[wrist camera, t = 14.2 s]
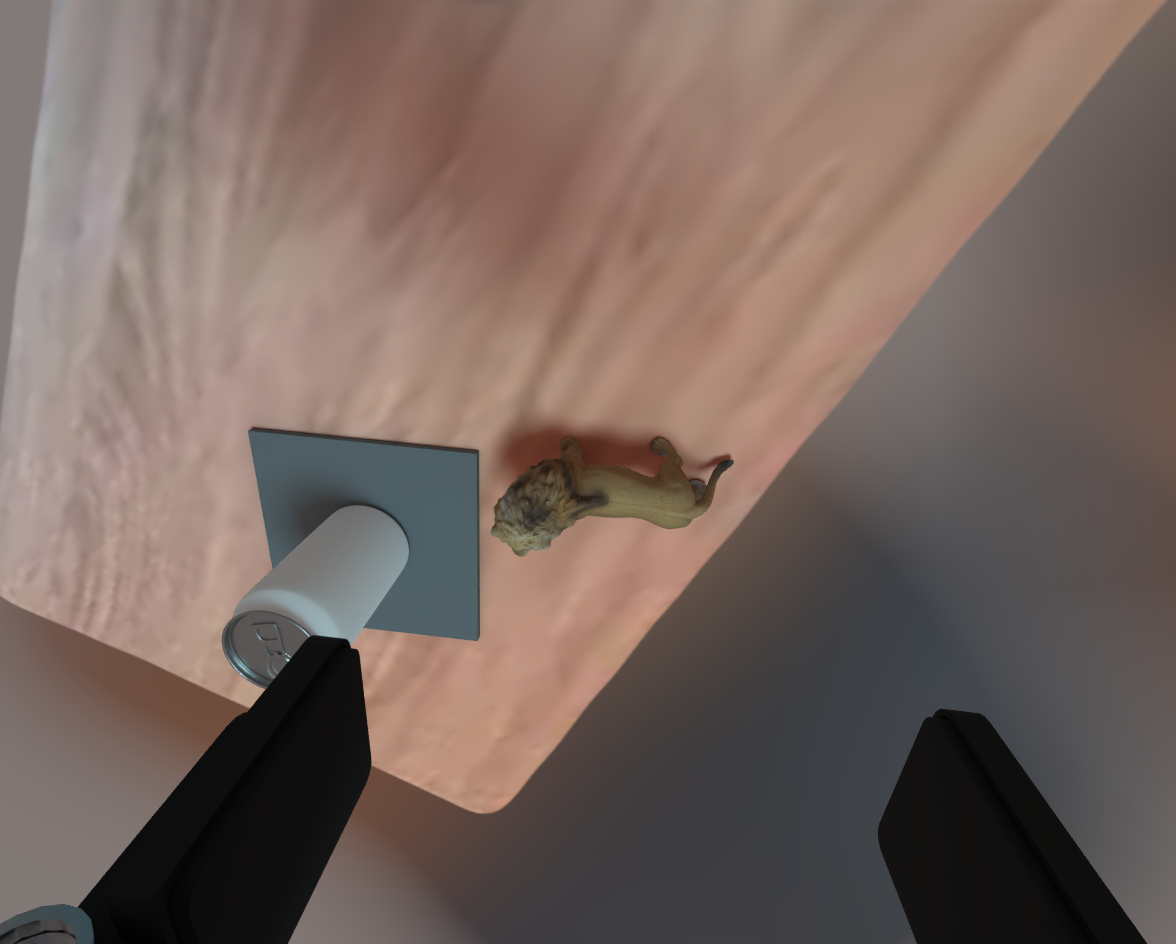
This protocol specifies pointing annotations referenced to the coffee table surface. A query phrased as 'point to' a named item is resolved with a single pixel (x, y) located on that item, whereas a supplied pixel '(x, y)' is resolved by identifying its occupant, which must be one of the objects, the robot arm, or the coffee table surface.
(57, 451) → the coffee table surface
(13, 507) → the coffee table surface
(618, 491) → the lion figurine
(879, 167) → the coffee table surface
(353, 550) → the can
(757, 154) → the coffee table surface
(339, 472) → the mat
